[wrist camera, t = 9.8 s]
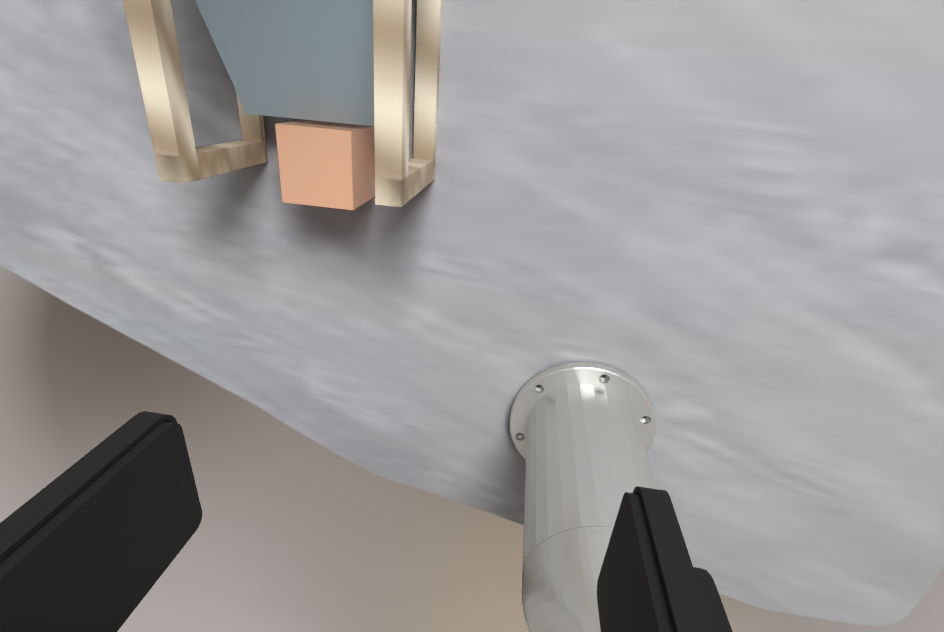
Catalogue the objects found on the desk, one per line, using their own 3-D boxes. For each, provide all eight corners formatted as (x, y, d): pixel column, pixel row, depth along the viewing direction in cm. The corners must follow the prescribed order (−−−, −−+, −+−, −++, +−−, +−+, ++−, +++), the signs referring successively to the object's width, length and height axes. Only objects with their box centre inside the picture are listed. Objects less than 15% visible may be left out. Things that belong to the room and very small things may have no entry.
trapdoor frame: (434, 179, 35) (401, 207, 26) (249, 160, 36) (160, 180, 28) (446, -85, 28) (406, -162, 20) (217, -99, 29) (86, -177, 21)
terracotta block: (375, 126, 34) (376, 195, 36) (309, 119, 34) (313, 189, 37) (351, 131, 29) (353, 210, 32) (275, 123, 30) (282, 202, 32)
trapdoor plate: (400, 121, 31) (395, 134, 31) (251, 106, 32) (242, 119, 31) (369, -100, 22) (360, -89, 21) (155, -113, 22) (139, -102, 22)
